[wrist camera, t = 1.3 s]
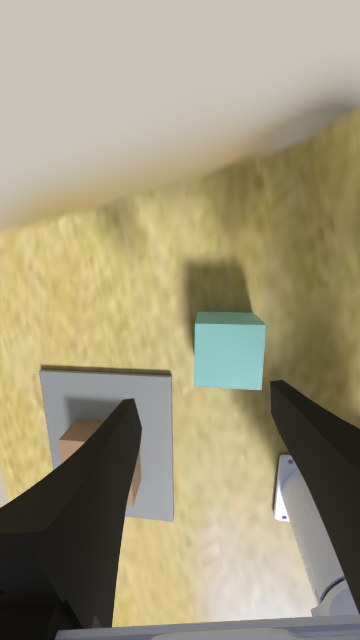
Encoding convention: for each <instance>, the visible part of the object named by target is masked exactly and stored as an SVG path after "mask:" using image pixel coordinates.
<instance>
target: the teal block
mask: <svg viewBox="0 0 360 640" xmlns="http://www.w3.org/2000/svg"><path fill="white" fill-rule="evenodd" d="M265 337H266V324H265V323H264V322H263V321H261V320H260V319H259V318H258V317H257V316H256V315H255V314H254V313H253V312H197V316H196V321H195V365H194V387H208V388H228V389H247V390H261V388H262V375H263V362H264V349H265Z"/></svg>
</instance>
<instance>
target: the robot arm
mask: <svg viewBox="0 0 360 640" xmlns="http://www.w3.org/2000/svg"><path fill="white" fill-rule="evenodd" d="M270 388H271V414H272V416H273V419H274V421H275V424H276V426H277V429H278V431H279V434H280V435H281V437H282V439H283V441H284V443H285V445H286V447H287V449H288V451H289V452H290V454H291V455H281V456H280V458H279V466H278V476H277V486H276V496H275V505H274V517H275V519H277V520H281V521H290V524H291V527H292V530H293V533H294V536H295V539H296V542H297V545H298V548H299V551H300V554H301V557H302V560H303V563H304V566H305V569H306V572H307V575H308V578H309V581H310V584H311V587H312V590H313V593H314V596H315V599H316V602H317V605H318V606H317V607H315V608H313V609H311V613H312V616H313V617H299V618H280V619H262V620H243V621H224V622H206V623H187V624H169V625H150V626H132V627H113V628H112V619H113V609H114V599H115V589H116V580H117V572H118V563H119V555H120V547H121V540H122V532H123V525H124V519H125V512H126V506H127V500H128V495H129V491H130V487H131V483H132V479H133V475H134V471H135V466H136V462H137V458H138V454H139V449H140V443H141V435H142V425H141V422H140V418H139V414H138V411H137V407H136V403H135V400H134V398H132V399H124V400H122V401H121V402H120V404H119V405H118V406H117V407H116V408H115V410H114V411H113V412H112V413H111V414H110V415H109V417H108V418H107V419H106V420H105V421H104V422H103V423H102V425H101V426H100V427H99V428H98V429H97V430H96V431H95V432H94V433H93V434H92V435H91V436H90V437H89V438H88V440H87V441H86V442H85V443H84V444H83V445H82V446H81V447H80V448H79V449H77V450H76V451H75V452H74V453H73V454H72V455H71V456H70V457H69V458H68V459H66V460H65V461H64V462H63V463H62V464H61V465H59V466H58V467H57V468H56V469H54V470H53V471H52V472H51V473H49V474H48V475H47V476H46V477H44V478H43V479H42V480H41V481H39V482H38V483H36V484H35V485H34V486H32V487H31V488H30V489H28V490H27V491H25V492H24V493H22V494H21V495H20V496H18V497H17V498H15V499H14V500H12V501H11V502H9V503H7V504H6V505H4V506H3V507H1V508H0V640H360V429H359V428H357V427H355V426H353V425H351V424H350V423H348V422H346V421H344V420H342V419H340V418H339V417H337V416H335V415H334V414H332V413H330V412H329V411H327V410H325V409H324V408H322V407H321V406H319V405H318V404H316V403H315V402H313V401H312V400H310V399H309V398H307V397H306V396H304V395H303V394H301V393H300V392H299V391H297V390H296V389H294V388H293V387H292V386H290V385H289V384H288V383H286V382H285V381H283V380H278V381H270ZM289 460H291V461H289Z"/></svg>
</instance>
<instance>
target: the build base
mask: <svg viewBox="0 0 360 640" xmlns="http://www.w3.org/2000/svg"><path fill="white" fill-rule="evenodd" d="M39 375H40V382H41V389H42V395H43V402H44V409H45V416H46V422H47V429H48V436H49V443H50V450H51V456H52V463H53V470H54V469H56V468H57V467H58V466H59V465H61V464H62V463H63V462H64V461H65V460H66V459H68V458H69V457H70V456H71V455H72V454H73V453H74V452H75V451H76V450H77V449H79V448H80V447H81V446H82V445H83V444H84V443H85V442H86V441H87V440H88V438H89V437H90V436H91V435H92V434H93V433H94V432H95V431H96V430H97V429H98V428H99V427H100V426H101V425H102V423H103V422H104V421H105V420H106V419H107V418H108V417H109V415H110V414H111V413H112V412H113V411H114V410H115V408H116V407H117V406H118V405H119V404H120V402H121V401H122V400H124V399H132V398H134V400H135V403H136V407H137V411H138V414H139V418H140V422H141V425H142V435H141V443H140V449H139V454H138V458H137V462H136V466H135V471H134V475H133V479H132V483H131V487H130V491H129V495H128V500H127V506H126V512H125V516H127V517H135V518H144V519H152V520H161V521H169V522H173V519H174V501H173V431H172V375H158V374H136V373H114V372H92V371H70V370H48V369H42V370H40V371H39Z"/></svg>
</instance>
